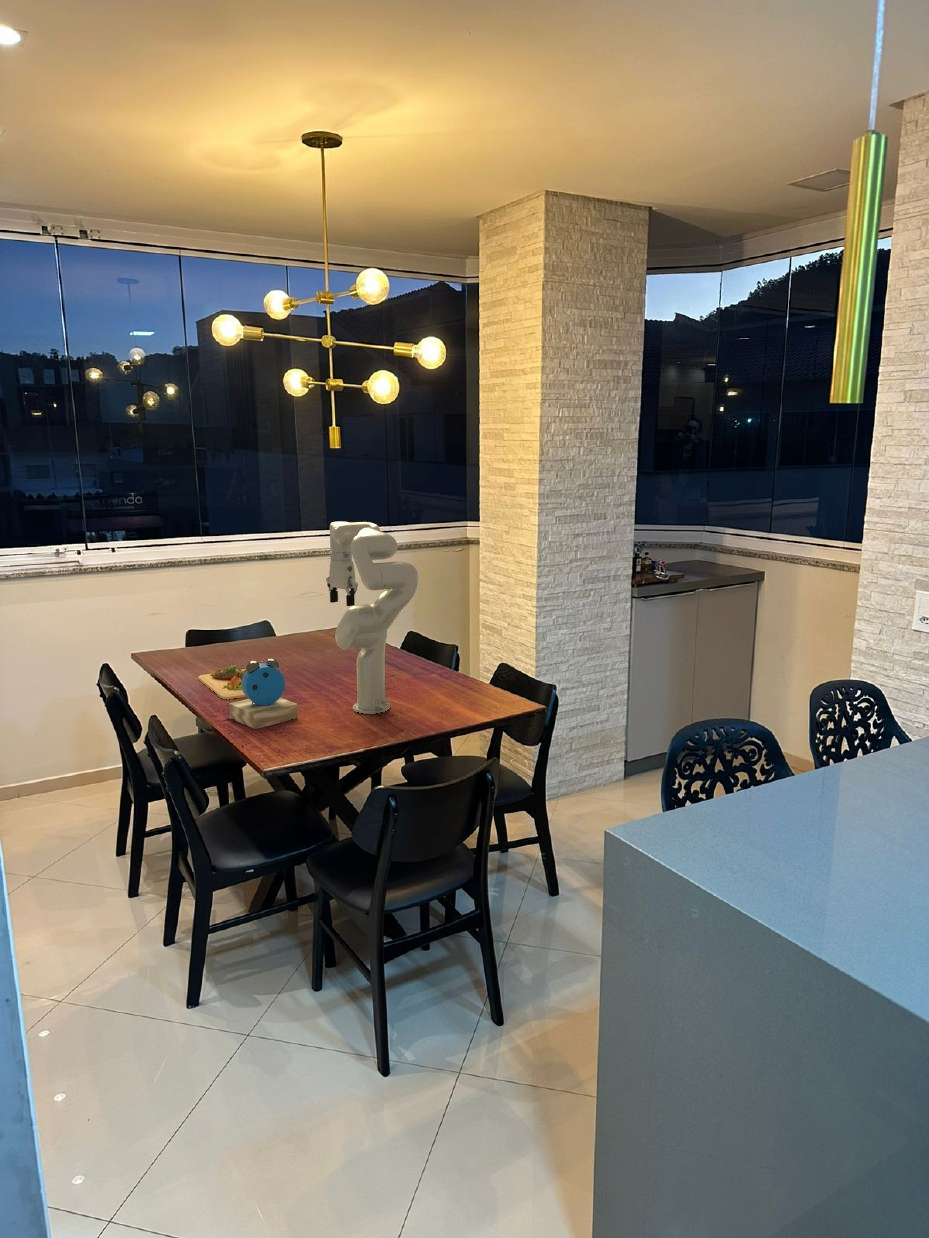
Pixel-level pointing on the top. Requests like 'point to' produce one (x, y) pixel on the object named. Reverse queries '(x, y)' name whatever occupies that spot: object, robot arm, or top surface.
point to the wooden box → (262, 712)
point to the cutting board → (225, 682)
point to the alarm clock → (263, 682)
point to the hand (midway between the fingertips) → (342, 604)
